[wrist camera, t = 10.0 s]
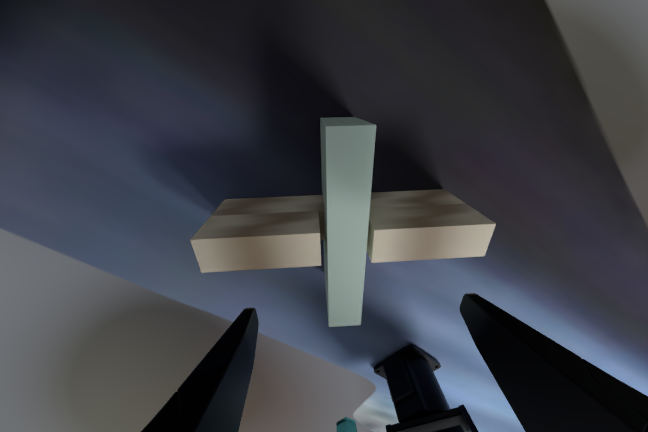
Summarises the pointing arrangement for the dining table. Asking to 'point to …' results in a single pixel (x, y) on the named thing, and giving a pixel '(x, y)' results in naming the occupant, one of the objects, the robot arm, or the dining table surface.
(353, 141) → the pale green slotted board
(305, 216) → the birch slotted board
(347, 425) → the alien figure
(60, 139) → the dining table surface
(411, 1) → the dining table surface
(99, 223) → the dining table surface
